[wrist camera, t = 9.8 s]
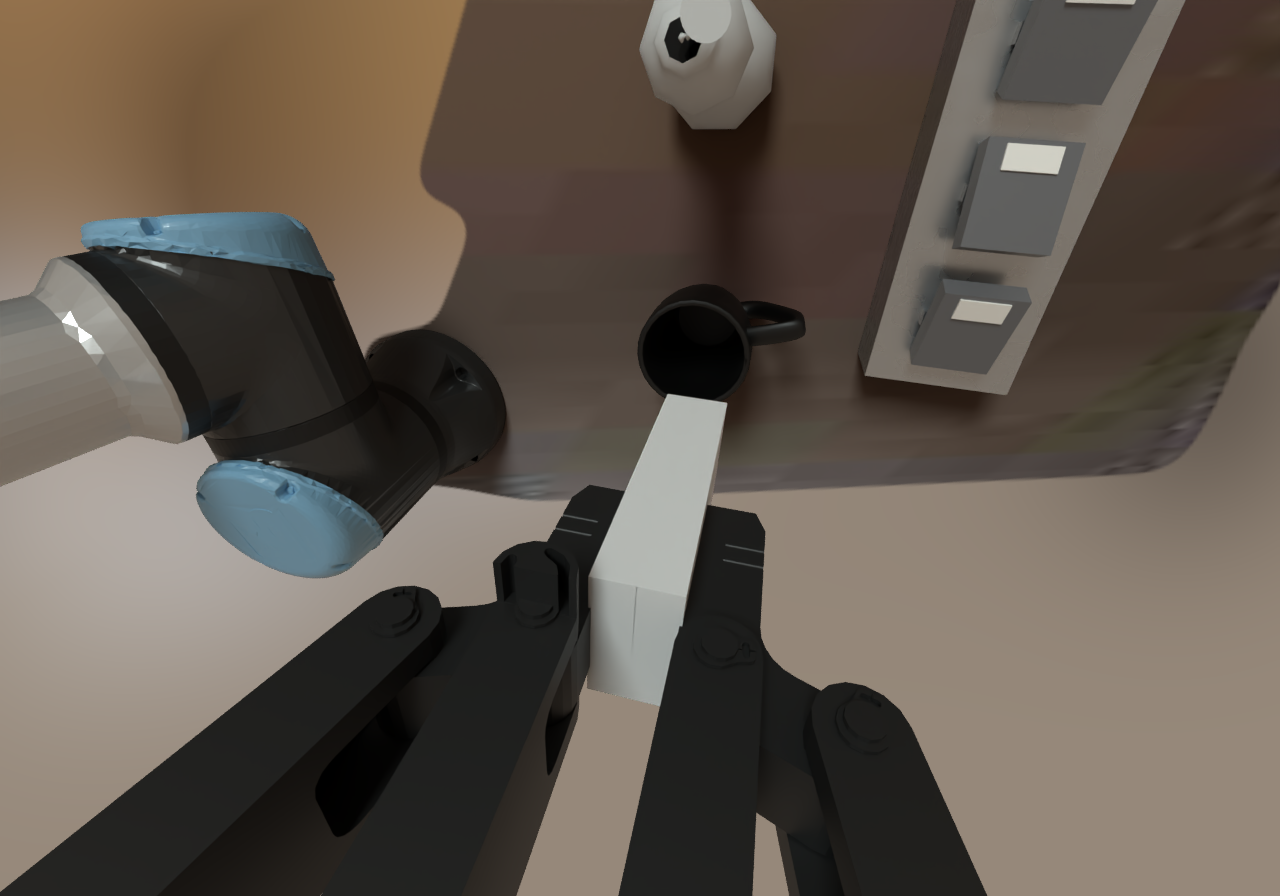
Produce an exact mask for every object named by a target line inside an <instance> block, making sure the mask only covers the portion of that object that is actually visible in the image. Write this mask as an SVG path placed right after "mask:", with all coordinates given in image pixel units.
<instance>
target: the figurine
mask: <svg viewBox="0 0 1280 896" xmlns="http://www.w3.org/2000/svg"><path fill="white" fill-rule="evenodd" d="M775 45H776V33H775V32H774V31H773V29H772V28H771V27H770V25H769V24H768V23H767V21H766V20H765V19H764V17H763V16H762V15H761V13H760V12H759V11H758V10H757V8H756V7H755V6H754V4H753V3H752V2H751V0H655V1H654V4H653V7H652V11H651V14H650V17H649V20H648V23H647V26H646V30H645V33H644V36H643V39H642V42H641V45H640V53H641V56H642V59H643V62H644V65H645V68H646V71H647V74H648V77H649V80H650V83H651V86H652V89H653V92H654V95H655V97H656V98H658V99H661V100H663V101H665V102H667V103H669V104H671V105H673V106H674V108H675V109H676V110H677V111H678V112H679V114H680V115H681V116H682V117H683V118H684V120H685V121H686V122H687V123H688V124H689V126H690V127H691V128H692V129H736V128H737V127H738V126H739V125H740V124H741V123H742V122H743V121H744V120H745V119H746V118H747V117H748V115H749V114H750V113H751V112H752V111H753V110H754V109H755V108H756V107H757V106H758V105H759V104H760V103H761V102H762V101H763V99H764V98H765V97H766V96H767V95H768V94H769V93H770V92H771V87H772V76H773V66H774V55H775Z"/></svg>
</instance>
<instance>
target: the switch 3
mask: <svg viewBox="0 0 1280 896" xmlns="http://www.w3.org/2000/svg"><path fill="white" fill-rule="evenodd" d="M1031 304H1032V301H1031V298H1030V296H1029V293H1028V290H1027V288H1025V287H1016V286H1006V285H997V284H988V283H979V282H970V281H960V280H951V279H942V281H941V283H940V286H939V288H938V290H937V292H936V294H935V296H934V298H933V301H932V303H931V305H930V307H929V309H928V311H927V313H926V316H925V318H924V320H923V322H922V324H921V326H920V329H919V331H918V333H917V335H916V337H915V339H914V341H913V344H912V346H911V348H910V360H911V365H918V366H925V367H933V368H940V369H948V370H955V371H963V372H970V373H978V374H985V375H987V373H988V371H989V370H990V368H991V367H992V365H993V363H994V362H995V360H996V359H997V357H998V356H999V354H1000V352H1001V351H1002V349H1003V348H1004V346H1005V345H1006V343H1007V341H1008V340H1009V338H1010V337H1011V335H1012V334H1013V332H1014V330H1015V329H1016V327H1017V326H1018V324H1019V323H1020V321H1021V319H1022V318H1023V316H1024V315H1025V313H1026V311H1027V310H1028V308H1029V307H1030V305H1031Z"/></svg>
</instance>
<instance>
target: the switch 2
mask: <svg viewBox="0 0 1280 896" xmlns="http://www.w3.org/2000/svg"><path fill="white" fill-rule="evenodd" d="M1085 145H1086V143H1081V142H1066V141H1051V140H1037V139H1022V138H1007V137H992V136H990V137H988V138H987V139H985V140H984V141H982V142H981V143H979V147H978V150H977V154H976V158H975V162H974V166H973V170H972V173H971V177H970V181H969V185H968V189H967V192H966V196H965V200H964V204H963V208H962V211H961V215H960V219H959V223H958V227H957V230H956V234H955V238H954V242H953V246H952V249H958V250H968V251H978V252H988V253H998V254H1008V255H1018V256H1028V257H1045V256H1051V253H1052V250H1053V247H1054V244H1055V241H1056V238H1057V234H1058V231H1059V228H1060V225H1061V222H1062V218H1063V215H1064V212H1065V209H1066V206H1067V202H1068V199H1069V196H1070V193H1071V190H1072V187H1073V183H1074V180H1075V177H1076V174H1077V171H1078V167H1079V164H1080V161H1081V158H1082V155H1083V151H1084V148H1085Z"/></svg>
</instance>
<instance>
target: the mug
mask: <svg viewBox="0 0 1280 896" xmlns="http://www.w3.org/2000/svg"><path fill="white" fill-rule="evenodd" d="M753 318H758V319H766V320H771V321H774V322H778V323H774V324H768V325H760V326H752V327H751V325H750V322H749V319H753ZM805 331H806V328H805V321H804V317H803V315H802V313H801V312H799V311H797V310H794V309H791V308H787V307H784V306H780V305H776V304H772V303H768V302H762V301H746V302H739V300H738V299H737V298H736V297H735V296H734V295H733V294H731V293H730V292H729V291H727V290H726V289H724V288H722V287H719V286H717V285H709V284H699V285H692V286H689V287H686V288H683V289H680V290H678V291H677V292H675V293H673V294H672V295H670V296H669V297H667V298H666V299H665V300H664V301H663V302H662V303H661V304H660V305H659V306H658V307H657V308H656V309H655V310H654V312H653V313H652V315H651V316H650V318H649V319H648V321H647V322H646V324H645V326H644V327H643V329H642V331H641V334H640V338H639V341H638V353H637V354H638V360H639V366H640V368H641V371H642V373H643V375H644V377H645V379H646V380H647V382H648V383H649V385H650V386H651V387H652V388H653V389H654V390H655V391H656V392H657V393H658V394H659V395H661V396H662V397H664V398H665V399H666V397H667V394H672V395H678V396H685V397H691V398H698V399H705V400H711V401H718V402H720V401H722V400H724V399H726V398H728V397H729V396H730V395H731V394H733V393H734V392H735V391H736V390H737V389H738V388H739V386H740V385H741V384H742V382H743V381H744V379H745V377H746V374H747V372H748V370H749V364H750V359H751V352H752V346H758V345H768V344H775V343H782V342H787V341H792V340H796V339H798V338H800V337H802V336H804V335H805Z"/></svg>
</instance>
